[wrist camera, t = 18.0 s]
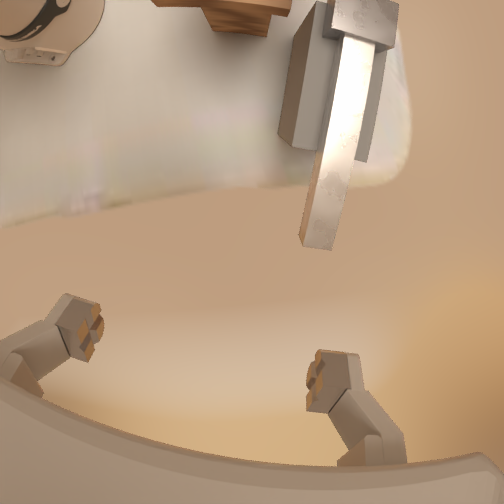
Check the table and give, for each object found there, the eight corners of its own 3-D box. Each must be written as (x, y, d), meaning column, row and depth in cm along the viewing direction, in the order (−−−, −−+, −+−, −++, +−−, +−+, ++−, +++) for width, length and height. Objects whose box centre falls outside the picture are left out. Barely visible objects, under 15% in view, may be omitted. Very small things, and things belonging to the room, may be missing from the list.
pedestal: (277, 133, 45) (291, 146, 30) (294, 35, 38) (316, 0, 23) (328, 143, 46) (366, 162, 30) (345, 47, 39) (390, 23, 23)
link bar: (284, 232, 34) (289, 248, 30) (327, -4, 23) (338, -17, 19) (337, 240, 34) (347, 257, 30) (383, 13, 23) (398, 4, 19)
